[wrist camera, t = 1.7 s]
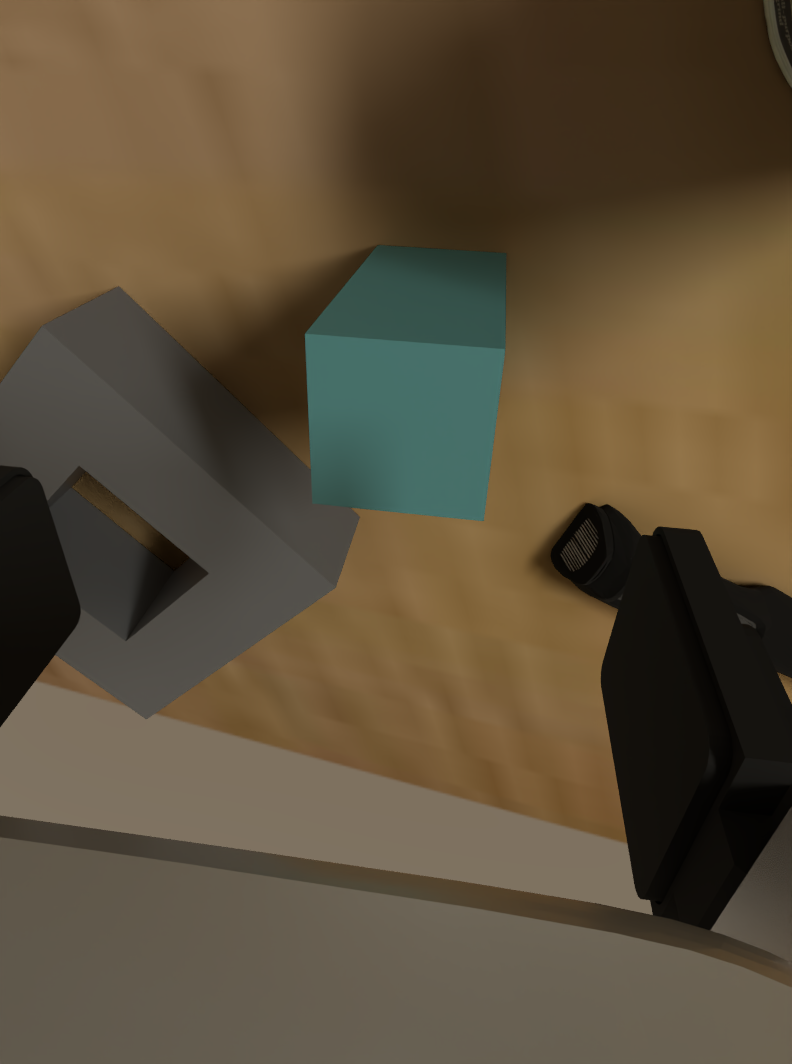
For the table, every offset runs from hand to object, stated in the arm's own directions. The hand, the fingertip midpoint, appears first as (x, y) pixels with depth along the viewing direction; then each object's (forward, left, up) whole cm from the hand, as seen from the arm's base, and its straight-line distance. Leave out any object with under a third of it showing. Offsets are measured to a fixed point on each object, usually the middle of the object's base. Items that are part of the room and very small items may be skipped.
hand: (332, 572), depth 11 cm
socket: (+12, +9, -16) cm, 22 cm away
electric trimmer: (-13, +12, -17) cm, 24 cm away
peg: (0, 0, -16) cm, 16 cm away
